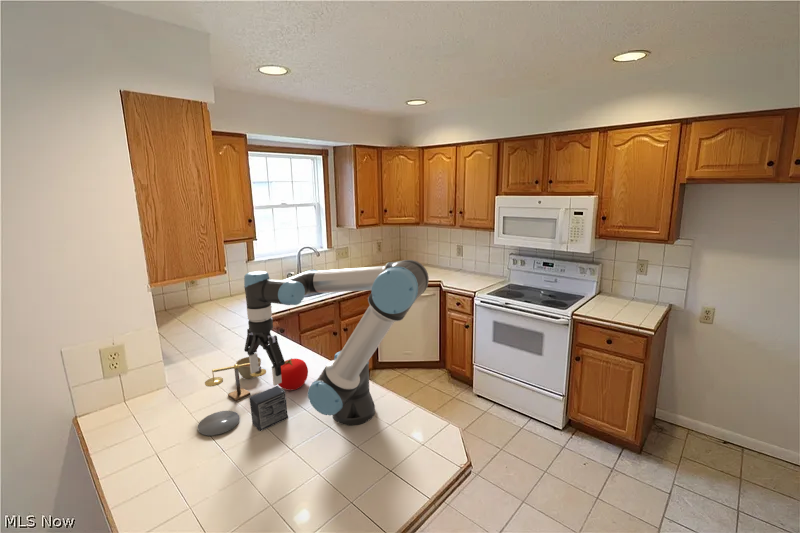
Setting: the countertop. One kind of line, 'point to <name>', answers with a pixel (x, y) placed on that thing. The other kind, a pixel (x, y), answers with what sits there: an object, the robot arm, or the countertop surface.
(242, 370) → the flower pot
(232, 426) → the dish
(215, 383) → the balance
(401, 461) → the countertop surface
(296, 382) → the tomato
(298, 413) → the countertop surface
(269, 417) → the small box
